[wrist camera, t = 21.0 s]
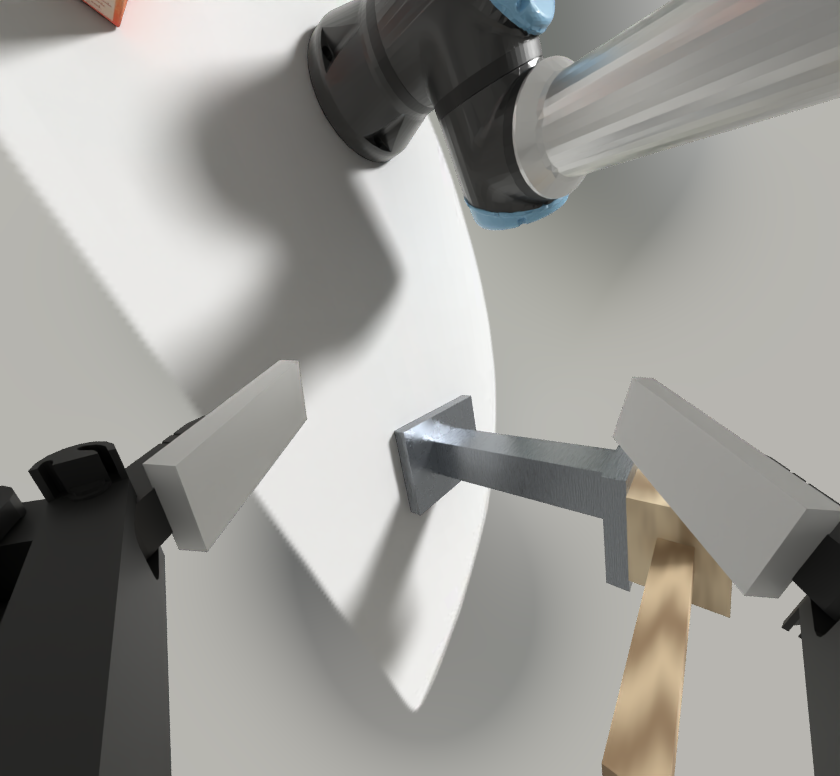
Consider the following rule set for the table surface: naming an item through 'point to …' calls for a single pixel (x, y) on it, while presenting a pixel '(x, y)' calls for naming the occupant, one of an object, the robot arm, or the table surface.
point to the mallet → (659, 632)
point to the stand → (518, 472)
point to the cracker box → (109, 9)
